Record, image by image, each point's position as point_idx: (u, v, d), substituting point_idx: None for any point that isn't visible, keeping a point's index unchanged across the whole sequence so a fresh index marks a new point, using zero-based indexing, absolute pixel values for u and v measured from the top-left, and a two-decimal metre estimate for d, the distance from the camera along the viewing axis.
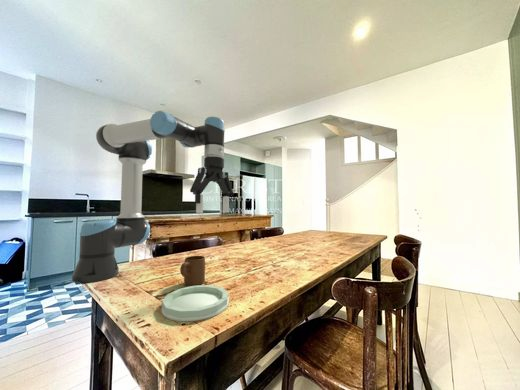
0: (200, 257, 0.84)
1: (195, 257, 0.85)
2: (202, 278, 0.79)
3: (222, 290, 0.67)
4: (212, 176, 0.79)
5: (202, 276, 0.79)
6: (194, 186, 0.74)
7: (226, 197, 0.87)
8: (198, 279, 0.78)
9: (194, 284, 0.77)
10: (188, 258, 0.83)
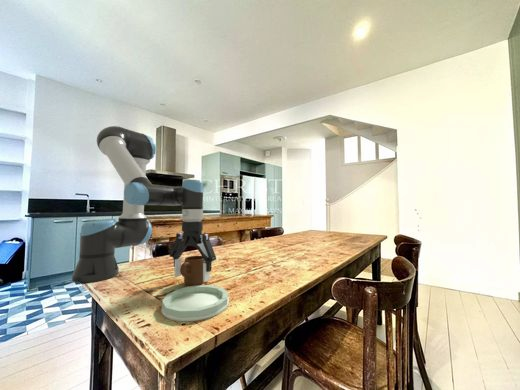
0: (200, 257, 0.84)
1: (195, 257, 0.85)
2: (202, 278, 0.79)
3: (222, 290, 0.67)
4: (183, 241, 0.79)
5: (202, 276, 0.79)
6: None
7: None
8: (198, 279, 0.78)
9: (194, 284, 0.77)
10: (188, 258, 0.83)
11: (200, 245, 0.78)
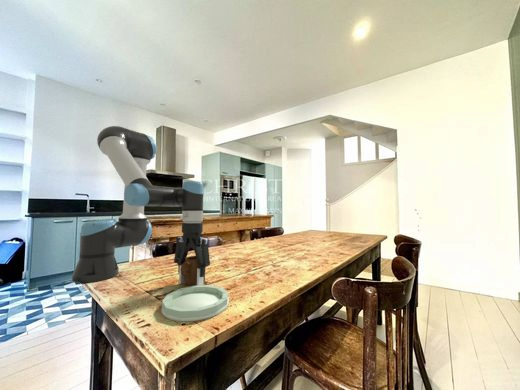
0: None
1: (195, 257, 0.85)
2: None
3: (222, 290, 0.67)
4: (184, 244, 0.79)
5: None
6: None
7: None
8: None
9: (194, 284, 0.77)
10: (188, 258, 0.83)
11: (198, 249, 0.78)
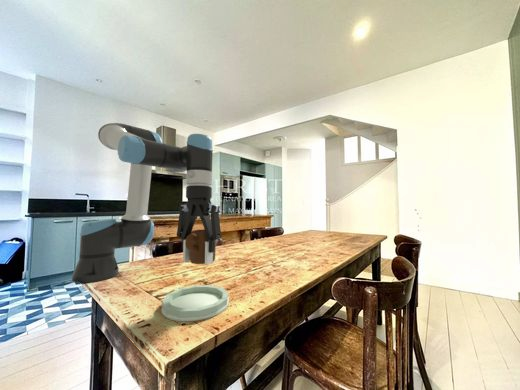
0: None
1: (203, 231, 0.69)
2: None
3: (222, 290, 0.67)
4: (189, 212, 0.63)
5: None
6: None
7: None
8: None
9: (203, 262, 0.62)
10: (194, 232, 0.67)
11: (206, 218, 0.62)
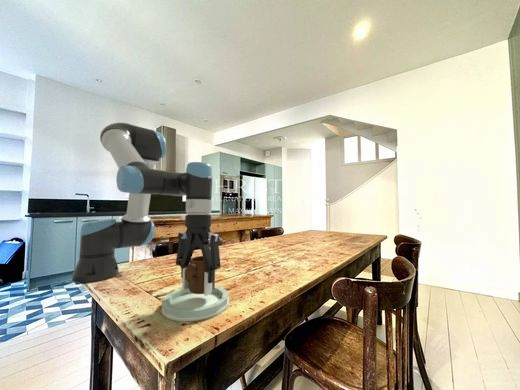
0: None
1: (202, 258, 0.68)
2: (212, 284, 0.63)
3: (222, 290, 0.67)
4: (188, 241, 0.63)
5: None
6: None
7: None
8: None
9: (202, 292, 0.61)
10: (194, 259, 0.67)
11: (205, 247, 0.62)
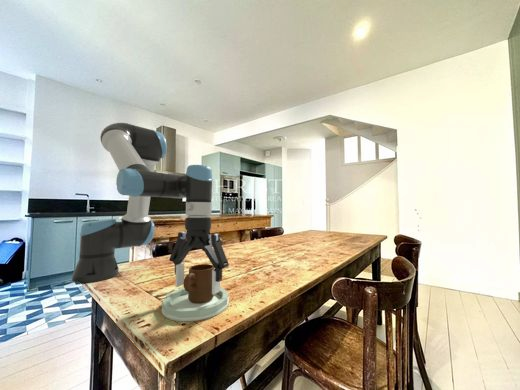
0: (208, 266, 0.68)
1: (202, 266, 0.68)
2: (211, 293, 0.63)
3: (222, 290, 0.67)
4: (187, 242, 0.63)
5: (211, 290, 0.63)
6: None
7: None
8: (206, 294, 0.62)
9: (201, 301, 0.61)
10: (193, 267, 0.67)
11: (208, 247, 0.62)
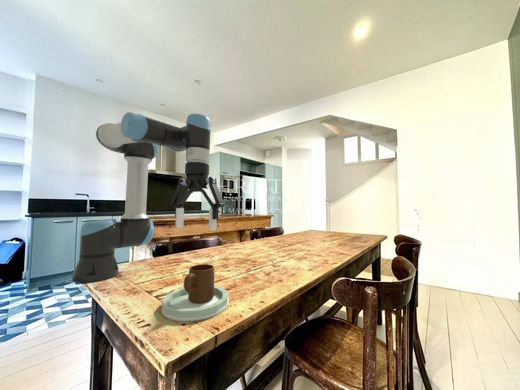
0: (208, 266, 0.68)
1: (202, 266, 0.68)
2: (211, 293, 0.63)
3: (222, 290, 0.67)
4: (187, 186, 0.68)
5: (211, 291, 0.63)
6: None
7: None
8: (206, 295, 0.62)
9: (201, 301, 0.61)
10: (193, 267, 0.67)
11: (206, 190, 0.67)
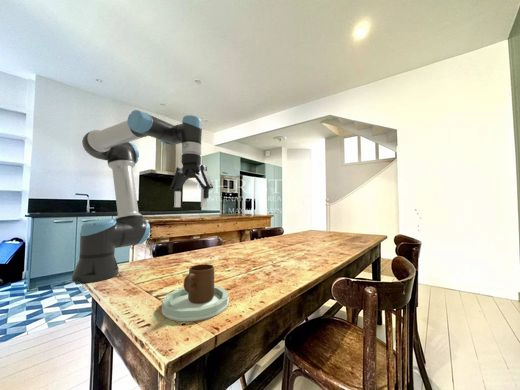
0: (208, 266, 0.68)
1: (202, 266, 0.68)
2: (211, 293, 0.63)
3: (222, 290, 0.67)
4: (183, 173, 0.85)
5: (211, 291, 0.63)
6: None
7: None
8: (206, 295, 0.62)
9: (201, 301, 0.61)
10: (193, 267, 0.67)
11: (198, 175, 0.84)
